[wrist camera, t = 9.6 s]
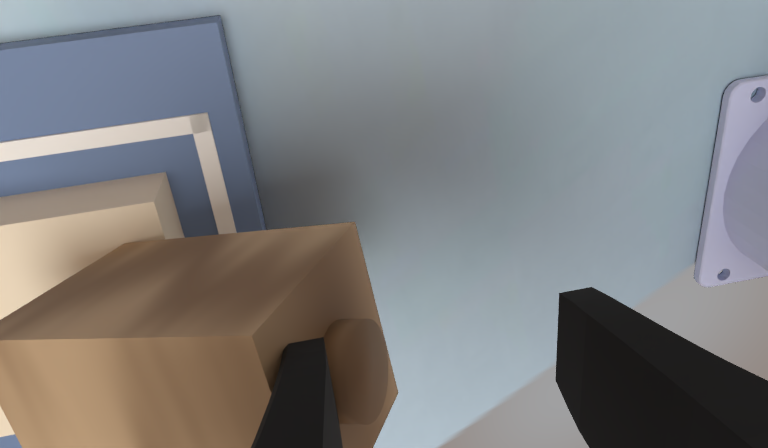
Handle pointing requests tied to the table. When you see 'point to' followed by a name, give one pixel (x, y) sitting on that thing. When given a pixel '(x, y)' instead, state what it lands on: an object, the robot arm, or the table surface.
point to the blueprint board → (115, 151)
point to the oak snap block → (194, 342)
